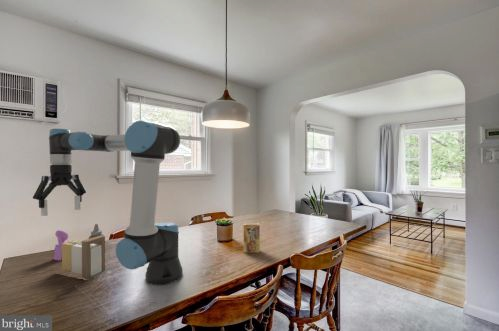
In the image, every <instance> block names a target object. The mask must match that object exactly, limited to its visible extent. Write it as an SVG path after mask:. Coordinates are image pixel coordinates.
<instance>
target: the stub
mask: <svg viewBox="0 0 499 331" xmlns="http://www.w3.org/2000/svg"><path fill="white" fill-rule="evenodd" d="M68 241H69V242H66V241H64V242H65V243H62V256H61V259H62V261H61V267H62V270H65V271H69V272H72V267H71V246H72V245H73V244H77V243H80V242H82V240H81V241H80V240H74V239H73V240H68Z"/></svg>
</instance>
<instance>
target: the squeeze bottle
mask: <svg viewBox="0 0 499 331" xmlns="http://www.w3.org/2000/svg"><path fill="white" fill-rule="evenodd" d="M97 236H105V235H104V233H103V231H102V230H100V228H99V224H98V223H95V224H94V227H93V230H92V231H91V232H90V236H89V237H88V239H90V238H94V237H97ZM93 244H97V242H96V243H93ZM106 251H107V250H106V249H105V252H106Z"/></svg>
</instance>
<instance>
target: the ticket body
mask: <svg viewBox="0 0 499 331" xmlns="http://www.w3.org/2000/svg"><path fill="white" fill-rule="evenodd" d="M96 242H97V244H93V243H96ZM105 250H106V235H104V236H97V237H94V238H90V239H89V238H87V239H84V240H81V242H80V243H77V244H73V245H72V246H71V267H72V272H73V273H78V274H82V277H83V278H89V277H91V276H93V275H96V274H98V273H100V272H102V271H104V270H105V268H106V251H105Z"/></svg>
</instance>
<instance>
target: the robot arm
mask: <svg viewBox="0 0 499 331" xmlns="http://www.w3.org/2000/svg"><path fill="white" fill-rule="evenodd" d="M48 141H49V144H48V145H49V146H48V147H49V163H50V165H49V174H50V176H49V175H42V176H41V181H40V182H39V184H38V186H37V189H36V191H35V192H34V194H33V196H32V199H33V200H38V208H39V209H40V216H43V217H44V216H45V217H47V216H48V213H49V212H48V199H46V198H47V197H48V196H49V195H50V194H51V193H52V192H53V190H54V189H55V188H56V187H59V186H67V187H68V188H69V189H70V190H71V191H72V192H73V193H74V194H75V195H74V210H76V211H79V210H80V211H81V203H82V200H83V199H82V196H84V194H86V193H87V191H86V189H85V188H84V186H83V183H82V182H81V180H80V176H79V174H72V168H73V167H72V163H73V162H72V151H90V152H106V153H111V152H124V151H125V152H127V151H128V152H130V158H131V159H132V160H133V161H134V168H133V169H134V170H133V180H132V181H133V182H132V191H131V192H132V193H131V204H130V206H131V208H130V215H129V216H130V218H129V226H127V227H126V228H125V229H124V236H123V238H122V239H120V240H119V242H117V243H116V245H115V256H116V259H117V260H118V262H119V263H120V265H121V266H123V267H124V268H125V269H128V270H137V269H139V268H142V267H144V266H145V265H147V268H146V271H145V281H146V283H148V284H149V285H156V286H157V285H158V286H160V285H162V286H163V285H167V284H171V283H173V282H176V281H178V280H179V279H181V278H182V277H183V272H184V271H183V266H182V265H181V264H182V262H181V260H180V257H179V234H180V232H179V226H178V224H177V223H174V222H164V221H163V222H155V221H156V220H155V219H156V212H157V211H156V210H157V198H158V188H159V177H160V176H159V175H160V165H161V163H162V162H163V161H164V160H165V156H166V155H169V154H172V153H175V151H177V150H178V148H179V147H180V144H181V137H180V134H179V131H177V130H176V128H174V127H172V126H170V125H166V124H162V123H158V122H154V121H152V120H151V121H150V120H137V121H134V122H132V123H131V125H129V126H128V127H127V129H126V131H125V133H124V134H110V135H109V134H108V135H104V134H103V135H101V134H94V133H93V134H92V133H89V132H86V131H75V132H71V130H70V129H68V128H67V129H65V128H51V129H50V130H49V135H48ZM49 181H50V183H49ZM48 183H49V184H48Z"/></svg>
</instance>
